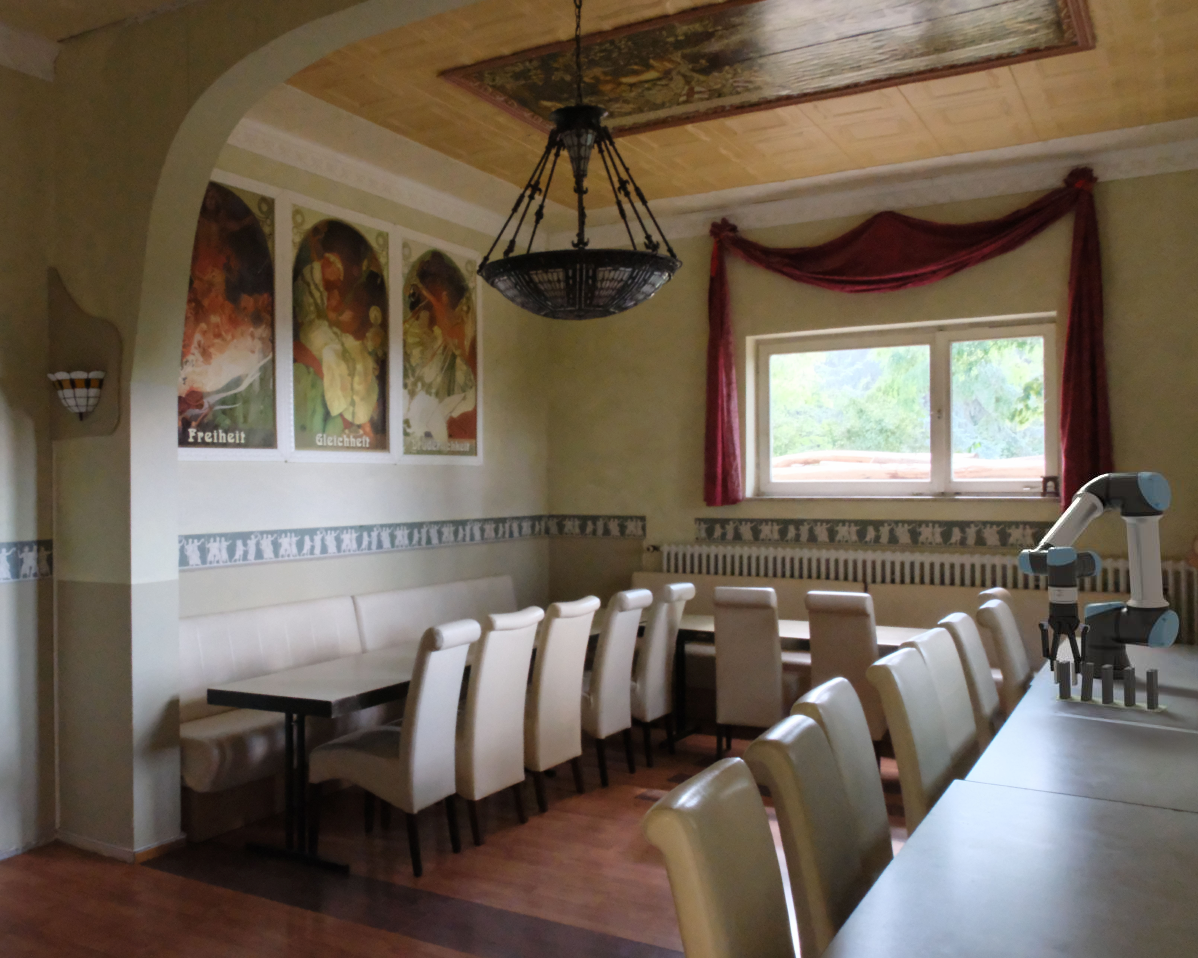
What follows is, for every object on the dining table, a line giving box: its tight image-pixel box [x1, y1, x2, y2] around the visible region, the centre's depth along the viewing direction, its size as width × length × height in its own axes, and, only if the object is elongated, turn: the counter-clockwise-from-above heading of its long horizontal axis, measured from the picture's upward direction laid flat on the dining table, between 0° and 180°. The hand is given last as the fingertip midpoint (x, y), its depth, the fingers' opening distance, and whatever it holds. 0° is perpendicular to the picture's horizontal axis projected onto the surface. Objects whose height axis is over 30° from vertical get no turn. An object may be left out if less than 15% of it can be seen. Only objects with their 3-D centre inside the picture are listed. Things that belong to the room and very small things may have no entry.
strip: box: [1051, 694, 1168, 713], centre depth 268 cm, size 9×27×1 cm, turn 48°
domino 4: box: [1123, 666, 1137, 707], centre depth 264 cm, size 5×2×10 cm, turn 138°
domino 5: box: [1145, 668, 1159, 710], centre depth 260 cm, size 5×2×10 cm, turn 138°
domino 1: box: [1058, 660, 1072, 699], centre depth 275 cm, size 5×2×10 cm, turn 138°
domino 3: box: [1101, 664, 1115, 704], centre depth 268 cm, size 5×2×10 cm, turn 138°
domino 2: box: [1080, 662, 1094, 702], centre depth 271 cm, size 5×2×10 cm, turn 138°
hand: (1066, 683), depth 275 cm, fingers open, 4 cm apart
